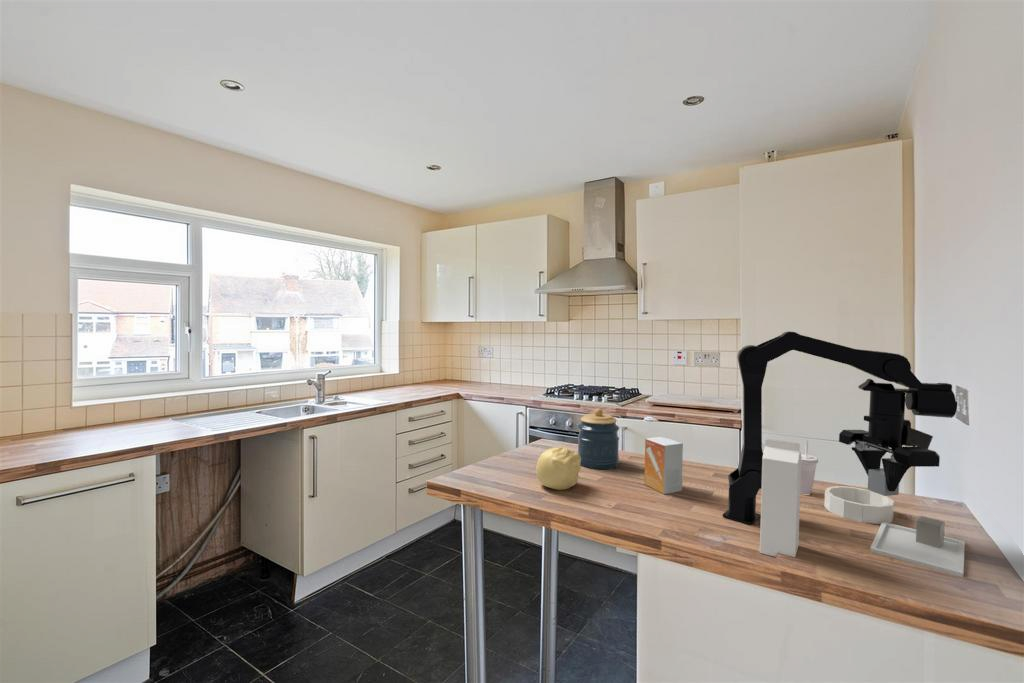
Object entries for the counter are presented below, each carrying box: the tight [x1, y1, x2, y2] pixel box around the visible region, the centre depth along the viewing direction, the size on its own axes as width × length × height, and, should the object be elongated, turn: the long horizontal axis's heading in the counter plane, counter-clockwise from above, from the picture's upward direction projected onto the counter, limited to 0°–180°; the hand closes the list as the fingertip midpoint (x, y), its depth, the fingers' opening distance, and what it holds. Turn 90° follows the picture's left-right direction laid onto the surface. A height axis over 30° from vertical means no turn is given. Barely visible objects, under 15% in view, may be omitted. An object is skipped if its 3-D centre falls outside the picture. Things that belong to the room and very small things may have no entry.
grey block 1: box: [867, 467, 900, 497], centre depth 98 cm, size 4×4×4 cm
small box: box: [643, 436, 684, 495], centre depth 127 cm, size 8×6×13 cm
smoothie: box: [800, 440, 819, 495], centre depth 124 cm, size 6×6×14 cm
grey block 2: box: [915, 515, 946, 548], centre depth 94 cm, size 4×4×4 cm
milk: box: [759, 438, 802, 558], centre depth 92 cm, size 6×6×22 cm
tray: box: [869, 522, 966, 578], centre depth 92 cm, size 17×13×2 cm
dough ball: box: [535, 445, 582, 491], centre depth 129 cm, size 11×12×11 cm
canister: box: [577, 407, 620, 470], centre depth 149 cm, size 13×13×18 cm
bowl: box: [824, 485, 895, 525], centre depth 110 cm, size 13×13×5 cm
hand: (882, 487), depth 98 cm, fingers closed on grey block 1, 4 cm apart
